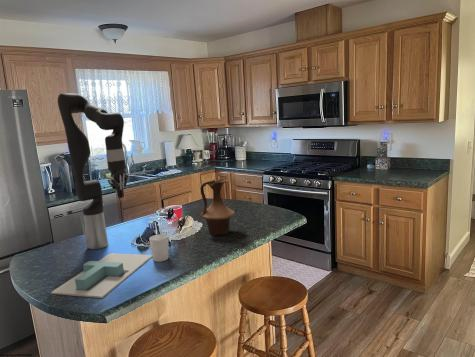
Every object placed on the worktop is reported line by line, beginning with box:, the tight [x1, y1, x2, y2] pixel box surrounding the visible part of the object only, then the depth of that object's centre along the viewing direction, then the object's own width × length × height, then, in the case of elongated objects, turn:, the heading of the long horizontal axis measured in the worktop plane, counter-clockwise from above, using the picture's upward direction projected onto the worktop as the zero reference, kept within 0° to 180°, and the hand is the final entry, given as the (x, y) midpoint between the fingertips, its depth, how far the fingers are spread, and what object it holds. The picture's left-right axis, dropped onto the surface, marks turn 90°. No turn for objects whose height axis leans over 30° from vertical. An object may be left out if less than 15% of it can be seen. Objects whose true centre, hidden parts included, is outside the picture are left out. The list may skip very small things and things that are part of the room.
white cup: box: [148, 233, 169, 263], centre depth 161 cm, size 8×8×10 cm
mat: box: [50, 252, 153, 299], centre depth 151 cm, size 22×37×1 cm, turn 164°
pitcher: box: [200, 179, 236, 236], centre depth 189 cm, size 18×17×28 cm
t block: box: [75, 260, 124, 290], centre depth 144 cm, size 16×16×4 cm
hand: (121, 197), depth 165 cm, fingers closed
